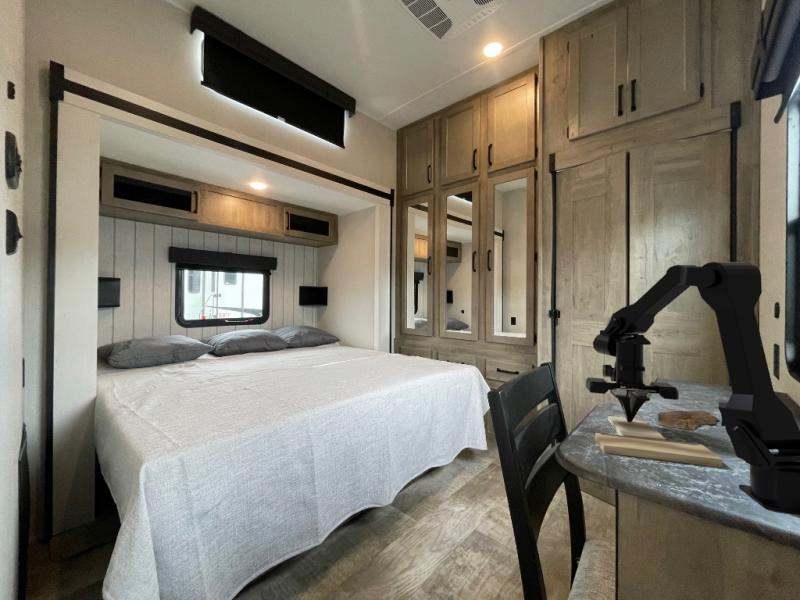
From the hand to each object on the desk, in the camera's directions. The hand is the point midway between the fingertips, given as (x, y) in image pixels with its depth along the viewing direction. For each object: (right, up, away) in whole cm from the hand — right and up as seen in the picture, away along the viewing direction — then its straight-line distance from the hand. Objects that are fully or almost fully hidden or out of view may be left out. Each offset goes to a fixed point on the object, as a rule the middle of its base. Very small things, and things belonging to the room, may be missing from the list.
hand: (629, 421), depth 83 cm
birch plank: (-1, -2, -3) cm, 4 cm away
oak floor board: (-5, -2, -14) cm, 14 cm away
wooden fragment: (+21, -2, +7) cm, 22 cm away
